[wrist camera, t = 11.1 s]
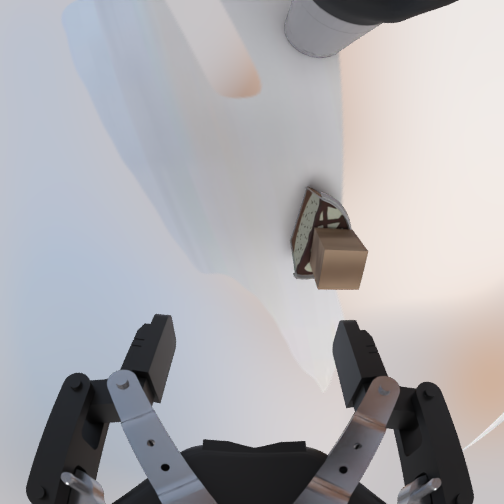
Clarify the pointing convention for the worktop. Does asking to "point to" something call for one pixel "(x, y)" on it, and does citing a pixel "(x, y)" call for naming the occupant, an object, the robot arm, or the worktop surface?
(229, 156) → the worktop surface
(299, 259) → the food container
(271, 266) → the worktop surface
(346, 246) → the walnut block
